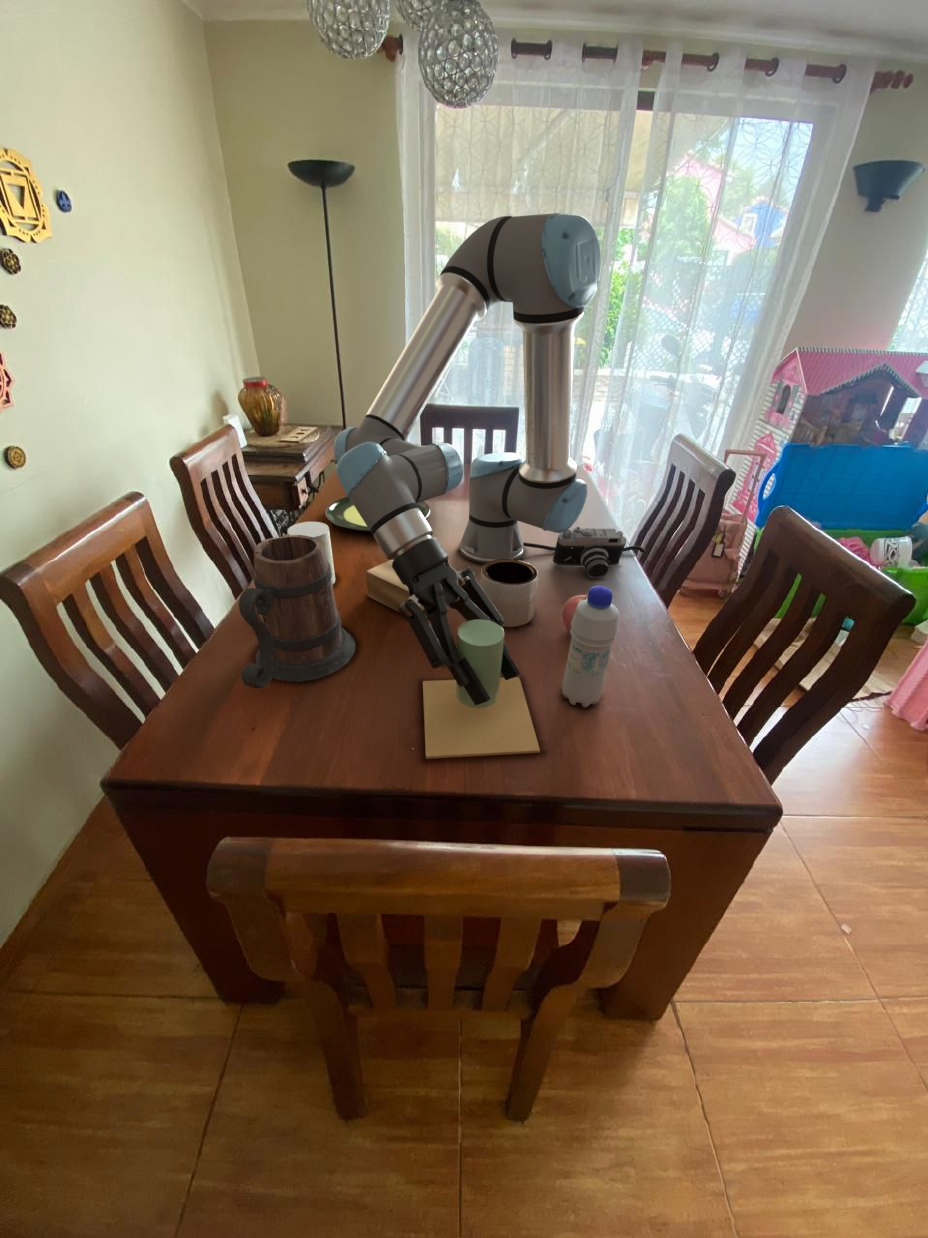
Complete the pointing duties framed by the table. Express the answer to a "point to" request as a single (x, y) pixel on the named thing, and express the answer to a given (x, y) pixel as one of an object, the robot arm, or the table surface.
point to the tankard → (293, 613)
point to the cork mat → (476, 722)
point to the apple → (571, 609)
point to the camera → (590, 549)
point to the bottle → (590, 647)
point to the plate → (356, 514)
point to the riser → (387, 586)
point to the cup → (319, 533)
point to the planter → (511, 589)
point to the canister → (481, 657)
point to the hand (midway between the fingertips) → (498, 688)
